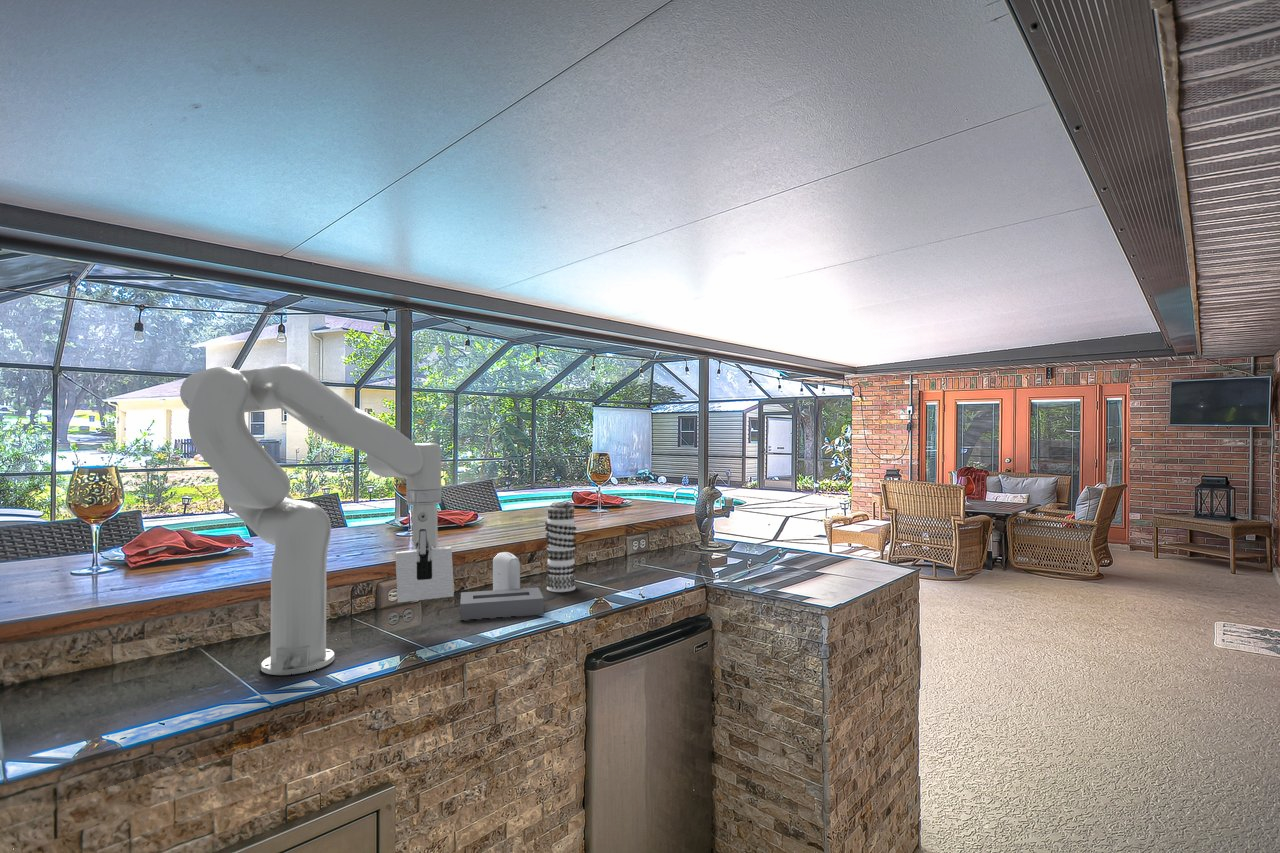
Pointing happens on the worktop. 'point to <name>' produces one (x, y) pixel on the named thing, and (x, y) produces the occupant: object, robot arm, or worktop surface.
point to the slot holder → (501, 603)
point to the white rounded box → (506, 571)
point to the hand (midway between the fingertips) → (424, 577)
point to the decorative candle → (560, 547)
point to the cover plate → (426, 588)
